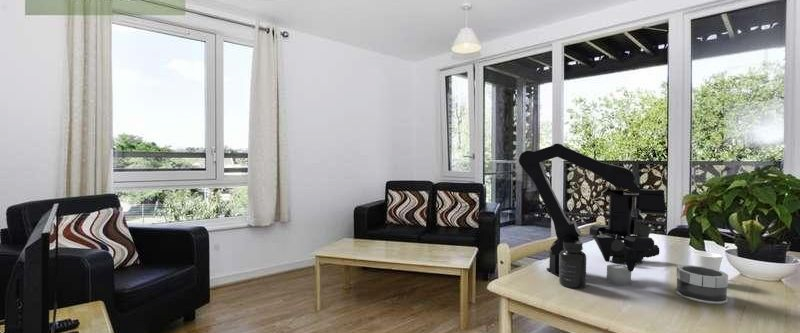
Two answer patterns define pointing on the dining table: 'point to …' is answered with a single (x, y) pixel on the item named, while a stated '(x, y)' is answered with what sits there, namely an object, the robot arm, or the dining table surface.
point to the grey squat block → (618, 274)
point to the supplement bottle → (572, 265)
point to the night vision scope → (619, 254)
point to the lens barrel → (702, 284)
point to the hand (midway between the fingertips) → (618, 266)
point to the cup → (707, 259)
